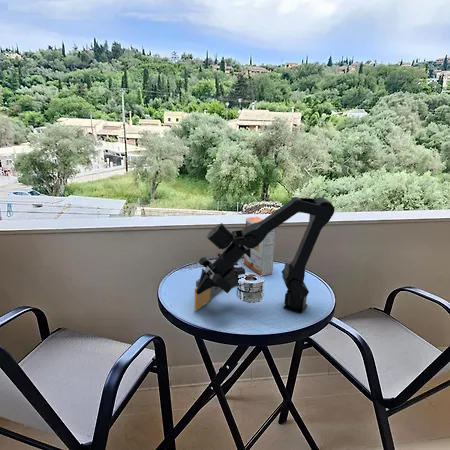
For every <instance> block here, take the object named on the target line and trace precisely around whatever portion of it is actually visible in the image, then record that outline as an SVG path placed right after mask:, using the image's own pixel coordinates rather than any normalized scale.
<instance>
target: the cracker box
mask: <svg viewBox="0 0 450 450" xmlns="http://www.w3.org/2000/svg"><path fill="white" fill-rule="evenodd" d="M262 220H263V218H260V217H258V216H253V217H251V216H250V217H246V218H245V227H247V226H249V225H251V224H253V223H257V222H260V221H262ZM276 228H277V227H276ZM276 228H275V229H273V230H272V231H271V232H269V233H268V234H267V236H266V237H265V238H264V240H263V241H262V242H261V243H260V244H259V245H258V246H257V247H255V248H253V249H251V248H250V249H251V252H250V253H251V257H248V256H247V255H246V254H244V255H243V265H245V266H246V267H248V268H249V269H250V270H252V271H253V272H254V271H255V272H254V273H256V274H257V273H258V274H257V275H259V274H260V275H263V276H262V277H265V276H270V275H273V271H274V256H275V243H276V231H277V230H276ZM260 275H259V276H260Z"/></svg>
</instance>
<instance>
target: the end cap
mask: <svg viewBox="0 0 450 450" xmlns="http://www.w3.org/2000/svg"><path fill="white" fill-rule="evenodd" d="M238 265H239V263H238V262H237V263H236V264H235V265H234V267H235V270H234V271H233V273H234V275H235V277H236V279H237V281H238V280H239V279H241V278H244V277H245V276H242V275H246V268H244V267H243V266H239V267H236V266H238ZM240 276H241V277H240ZM239 277H240V278H239Z"/></svg>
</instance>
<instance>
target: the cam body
mask: <svg viewBox="0 0 450 450" xmlns="http://www.w3.org/2000/svg"><path fill="white" fill-rule="evenodd" d="M199 280H200V278H199V279H197V280H196V281H195V288H196V287H198V284H199ZM222 291H223V290H222V289H221V288H220V287H211V299H212V298H214V297H215V296H217V295H219V294H220V293H221V292H222Z"/></svg>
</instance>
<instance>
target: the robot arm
mask: <svg viewBox="0 0 450 450" xmlns="http://www.w3.org/2000/svg"><path fill="white" fill-rule="evenodd" d="M298 213H304V214H307V215H309V220H308V224H307V226H306V229H305V231H304V232H303V233H304V234H303V236H302V238H301V241H300V242H299V246H298V248H297V251H296V253H295V256H294V258H293V259H292V260H291V262H290V263H289V262H285V263H284V268H283V269H282V271H281V274H282V275H281V276H282V280H283V282H284V284H285V287H286V289H287V290H286V293H284V301H283V302H284V303H283V304H284V306H283V309H285V310H288V311H291V312H294V313H298V314H302V313H303V312H304V311H305V309H307V307H308V304H307V299H308V298H307V297H308V295H309V293H310V291H309V289H308V288H307V285H306V283H305V282H304V281H305V277H306V276H305V275H306V266H307V263H308V262H309V259H310V257H311V254H312V252H313V251H314V248H315V245H316V243H317V240H318V238H319V236H320V233H321V231H322V229H323V228H324V227H325V226H326V225H327V224H328V223H329V222H330V220H331V219H332V217H333V216H334V214H335V207H334V205H333V203H331V202H330V201H329V199H327V198H325V197H321V196H320V197H316V198H311V197H299V196H294V197H293V198H291V200H289V201H288V202H287V203H285V204H284V205H282V206H281V207H280V208H278V209H277V210H275V211H274V212H272V213H270V214H269V215H268V216H267V217H265V218H264V219H262V221H260V222H257V223H253V224H251V225H249V226H247V227H246V226H245V227H243V228H242V229H238V230H237V229H236V230H230V229H228V228H227V227H226V225H225V224H224V223H222V222H221V223H220V224H218V225H216V226H215V227H213V228H212V229H211V230H210V231H209V233H207V236H206V239H207V240H209V241H210V242H211V243H212V244H213V245H214V246H215V247H216V248H218V249H219V250H224V251H223V252H221V253H220V252H218V253H217V254H216V255H217V258H216V259H215V260H214V261H213V262H212V261H210V260H209V259H208V258H207V257H206V256H204V257H201V258H200V259H199V260H198V261H197V262H198V263H199V264H200V265H201V266H203V267H204V268H205V269H204V268H201V274H200V276H199V277H200V278H199V279H200V280H199V279H198V280H199V284H198V287H197V290H196V293H197V294H200V293H202V292H204V291H206V290H207V289H209V288H211V287H220V288H221V289H222V291H223V292H225V293H226V294H229V293H230V291H232V289H234V288H235V287H236V286H240V285H239V283H238V281H237V279H236V277H235V275H234V273H233V271H234V270H235V267H236V265H235V264H236V263H238V262H239V261H240V260H241V259H242V258H243V257H244V254H246V255H247V256H248V257H251V253H250V252H251V249H253V248H255V247H257V246H258V245H259V244H260V243H261V242H262V241H263V240H264V238H265V237H266V236H267V234H268V233H269V232H271V231H272V230H273V229H275V228H277V227H279V226H280V225H282V224H283V223H285V222H286V221H288V220H289V219H291V218H292V217H293V216H295V215H296V214H298ZM250 248H251V249H250ZM234 265H235V266H234Z"/></svg>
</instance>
